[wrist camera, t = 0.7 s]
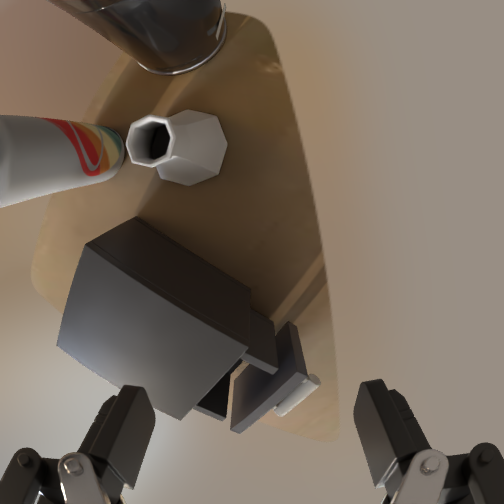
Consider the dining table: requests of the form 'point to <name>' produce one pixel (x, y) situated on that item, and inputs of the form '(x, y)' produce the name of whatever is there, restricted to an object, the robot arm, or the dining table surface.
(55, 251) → the dining table surface
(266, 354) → the drawer
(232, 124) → the dining table surface
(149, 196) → the dining table surface
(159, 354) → the cabinet
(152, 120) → the flask
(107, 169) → the lotion bottle
